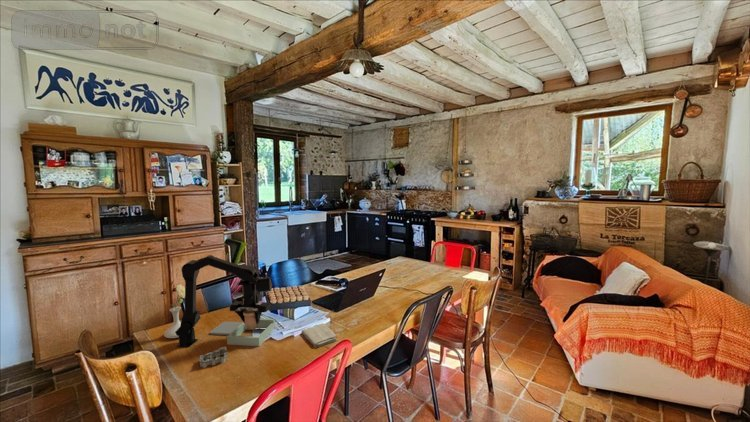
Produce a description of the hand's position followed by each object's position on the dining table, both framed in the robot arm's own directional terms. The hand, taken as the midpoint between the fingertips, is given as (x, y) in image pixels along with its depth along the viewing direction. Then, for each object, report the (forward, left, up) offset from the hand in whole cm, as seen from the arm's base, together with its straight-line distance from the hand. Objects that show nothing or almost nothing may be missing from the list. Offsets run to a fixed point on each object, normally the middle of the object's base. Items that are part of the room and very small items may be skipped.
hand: (251, 323), depth 154 cm
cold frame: (0, 0, -7) cm, 7 cm away
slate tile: (+6, +17, -7) cm, 19 cm away
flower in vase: (-1, +39, -7) cm, 40 cm away
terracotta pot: (0, 0, -2) cm, 2 cm away
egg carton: (-21, +6, -7) cm, 23 cm away
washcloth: (+3, -33, -8) cm, 34 cm away
